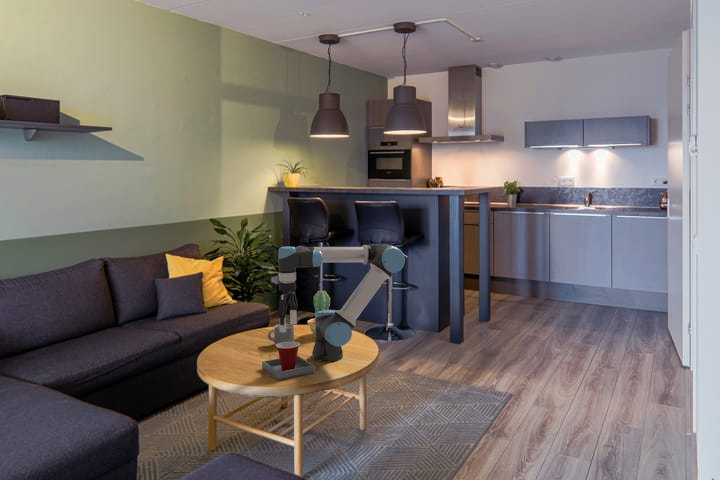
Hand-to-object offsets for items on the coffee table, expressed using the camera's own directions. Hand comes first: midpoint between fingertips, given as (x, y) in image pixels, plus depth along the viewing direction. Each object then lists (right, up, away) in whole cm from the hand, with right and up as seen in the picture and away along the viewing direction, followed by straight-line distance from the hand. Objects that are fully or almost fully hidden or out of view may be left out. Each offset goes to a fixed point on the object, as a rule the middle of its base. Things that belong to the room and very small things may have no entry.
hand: (288, 327), depth 248 cm
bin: (0, -20, +2) cm, 20 cm away
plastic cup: (0, -19, +2) cm, 19 cm away
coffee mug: (-9, -16, +42) cm, 45 cm away
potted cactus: (+11, -14, +59) cm, 61 cm away
